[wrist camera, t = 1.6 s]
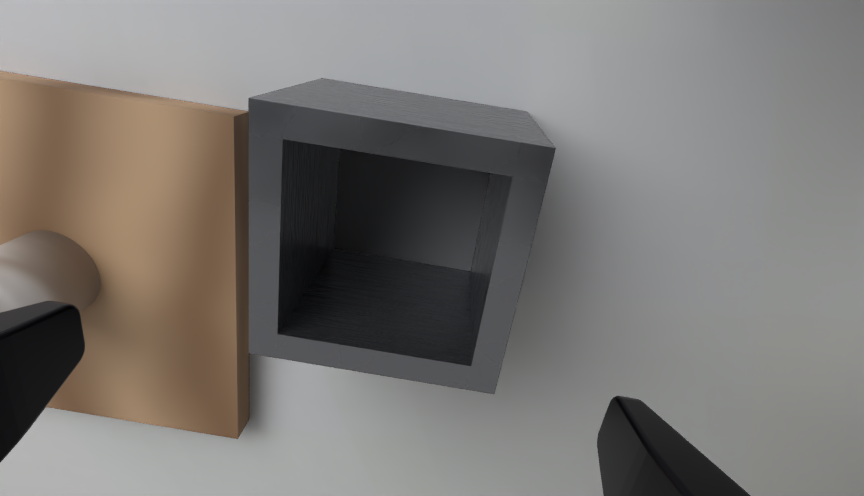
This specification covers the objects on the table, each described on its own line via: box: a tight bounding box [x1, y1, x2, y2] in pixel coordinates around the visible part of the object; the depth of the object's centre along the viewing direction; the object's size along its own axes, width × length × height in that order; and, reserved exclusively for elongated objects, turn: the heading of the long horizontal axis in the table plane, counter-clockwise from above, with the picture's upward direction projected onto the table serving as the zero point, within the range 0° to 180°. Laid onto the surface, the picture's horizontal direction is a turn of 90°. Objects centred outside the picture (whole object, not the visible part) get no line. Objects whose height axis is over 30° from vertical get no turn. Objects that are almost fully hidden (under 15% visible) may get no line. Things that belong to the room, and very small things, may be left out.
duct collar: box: [249, 78, 556, 394], centre depth 15 cm, size 7×7×6 cm
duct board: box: [0, 71, 249, 439], centre depth 17 cm, size 14×14×6 cm
